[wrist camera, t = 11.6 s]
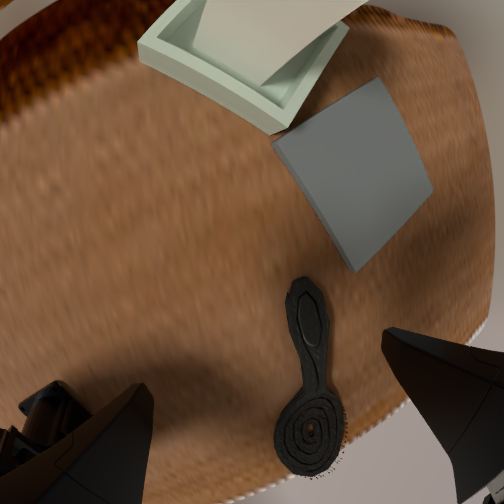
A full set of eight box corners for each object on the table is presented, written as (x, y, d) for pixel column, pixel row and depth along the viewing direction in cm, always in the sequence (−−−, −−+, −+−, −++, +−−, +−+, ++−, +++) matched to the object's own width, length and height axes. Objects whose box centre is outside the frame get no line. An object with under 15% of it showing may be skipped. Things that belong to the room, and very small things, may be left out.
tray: (269, 135, 19) (287, 127, 16) (139, 62, 15) (137, 41, 12) (329, 42, 19) (350, 28, 16) (222, -24, 15) (232, -46, 12)
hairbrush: (361, 271, 21) (352, 464, 26) (336, 262, 24) (338, 447, 30) (258, 300, 19) (288, 492, 24) (243, 285, 22) (278, 471, 28)
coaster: (349, 269, 23) (356, 272, 22) (270, 143, 19) (275, 141, 18) (426, 190, 25) (433, 191, 24) (372, 79, 20) (379, 76, 19)
